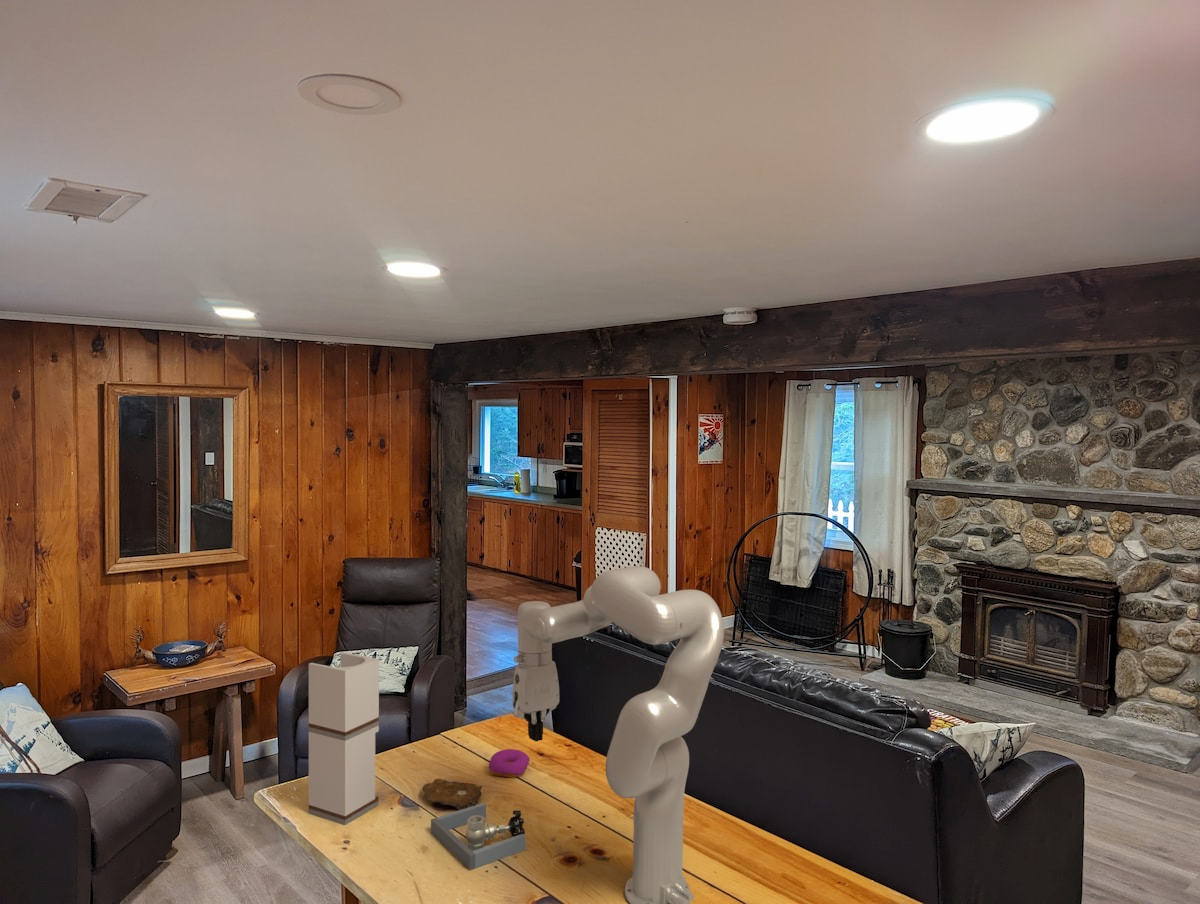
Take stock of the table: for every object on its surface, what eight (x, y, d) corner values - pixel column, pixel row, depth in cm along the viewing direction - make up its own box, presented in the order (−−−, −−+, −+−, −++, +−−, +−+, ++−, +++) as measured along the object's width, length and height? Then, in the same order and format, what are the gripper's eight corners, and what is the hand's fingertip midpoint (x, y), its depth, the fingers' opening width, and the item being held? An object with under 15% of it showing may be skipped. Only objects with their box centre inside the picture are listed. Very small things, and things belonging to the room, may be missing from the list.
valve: (470, 859, 164) (525, 847, 169) (470, 828, 164) (525, 817, 168) (462, 844, 170) (515, 833, 175) (462, 813, 170) (515, 803, 174)
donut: (483, 777, 203) (483, 759, 202) (498, 761, 212) (498, 744, 212) (521, 782, 200) (521, 764, 200) (534, 765, 210) (534, 748, 210)
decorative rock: (410, 810, 186) (469, 819, 183) (410, 793, 185) (470, 802, 182) (430, 786, 197) (487, 794, 194) (430, 770, 197) (487, 778, 193)
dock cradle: (525, 849, 168) (525, 836, 167) (469, 870, 160) (470, 855, 159) (483, 815, 182) (483, 802, 182) (430, 832, 174) (430, 819, 174)
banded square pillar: (378, 805, 187) (378, 659, 186) (345, 825, 177) (345, 671, 176) (343, 794, 192) (343, 652, 191) (308, 813, 182) (308, 663, 181)
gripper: (515, 667, 169) (516, 752, 169) (571, 655, 178) (572, 736, 178) (497, 660, 175) (498, 742, 175) (552, 648, 184) (553, 726, 184)
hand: (535, 738), depth 177 cm, fingers closed
